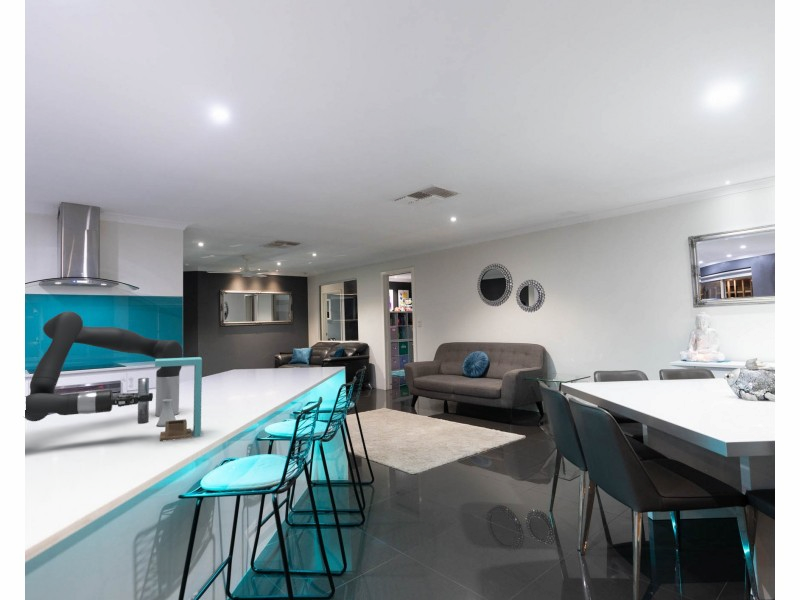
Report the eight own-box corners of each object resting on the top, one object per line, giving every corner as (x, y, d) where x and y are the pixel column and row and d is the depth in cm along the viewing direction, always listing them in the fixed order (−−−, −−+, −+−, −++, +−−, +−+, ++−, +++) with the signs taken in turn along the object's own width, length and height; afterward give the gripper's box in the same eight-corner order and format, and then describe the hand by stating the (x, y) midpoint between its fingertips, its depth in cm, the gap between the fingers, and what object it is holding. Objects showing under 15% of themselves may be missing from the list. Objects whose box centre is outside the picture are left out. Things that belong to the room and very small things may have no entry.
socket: (160, 434, 158) (160, 420, 158) (190, 431, 163) (190, 417, 163) (159, 441, 149) (160, 426, 149) (191, 437, 154) (191, 423, 154)
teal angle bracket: (154, 435, 157) (155, 358, 158) (199, 430, 164) (200, 357, 165) (153, 442, 148) (155, 361, 149) (200, 436, 155) (202, 359, 156)
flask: (170, 427, 169) (171, 401, 170) (152, 427, 169) (153, 401, 170) (180, 422, 176) (180, 398, 177) (163, 422, 176) (163, 398, 177)
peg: (138, 422, 155) (138, 378, 156) (148, 421, 157) (149, 377, 158) (137, 424, 152) (137, 379, 153) (148, 423, 154) (148, 378, 155)
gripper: (92, 394, 142) (152, 389, 150) (98, 388, 154) (153, 383, 163) (92, 417, 142) (151, 410, 150) (98, 408, 154) (153, 403, 163)
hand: (152, 396), depth 156 cm, fingers closed on peg, 3 cm apart
